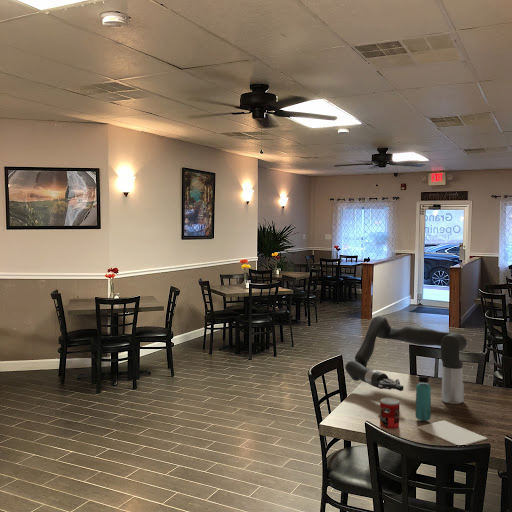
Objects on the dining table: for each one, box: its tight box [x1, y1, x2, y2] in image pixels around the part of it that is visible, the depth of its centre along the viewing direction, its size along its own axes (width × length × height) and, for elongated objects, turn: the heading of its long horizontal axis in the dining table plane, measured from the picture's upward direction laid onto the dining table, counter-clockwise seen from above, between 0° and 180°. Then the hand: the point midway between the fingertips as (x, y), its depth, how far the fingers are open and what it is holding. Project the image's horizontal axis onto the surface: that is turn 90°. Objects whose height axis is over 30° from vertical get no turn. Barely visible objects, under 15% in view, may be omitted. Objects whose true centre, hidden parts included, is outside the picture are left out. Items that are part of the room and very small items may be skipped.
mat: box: [416, 420, 488, 446], centre depth 219 cm, size 22×16×1 cm
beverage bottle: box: [414, 375, 432, 421], centre depth 232 cm, size 6×7×20 cm
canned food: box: [379, 397, 401, 430], centre depth 227 cm, size 8×8×11 cm
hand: (402, 388), depth 243 cm, fingers closed
